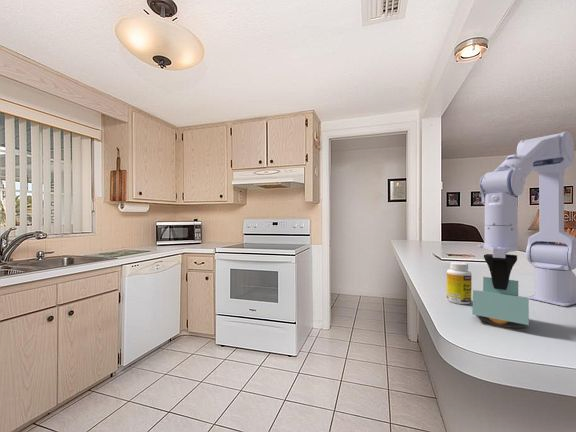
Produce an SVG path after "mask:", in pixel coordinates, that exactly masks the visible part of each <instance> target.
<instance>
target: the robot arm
mask: <svg viewBox="0 0 576 432" xmlns="http://www.w3.org/2000/svg"><path fill="white" fill-rule="evenodd" d="M574 159H575V142H574V139H573V136H572V134H571V133H570V132H568V131H562V132H560V133H556V134H550V135H544V136H540V137H534V138H530V139H521V140H520V141H519V142H518V143H517V147H516V154H515V153H514V154H511V155H507V156H506V158H505V160H504V161H503V162H502V163H500V164H499V165H498V166H497V168H495V169H494V170H493V171H489V172H486V173H485V174H484V175H482V176H481V177H480V180H479V184H478V188H479V189H478V190H479V193H480V196H481V203H482V206H483V205H484V244H479V243H478V244H477V248H479V249H485V250H487V251H491V252H492V254H490V253H486V254H483V258H484V261H485V262H486V264H487V267H488V269H489V272H490V276H491V277H490V278H492V283H493V287H494V289H501V290H506V289H507V286H508V282H509V280H510V277H511V276H510V275H511V273H512V270H513V267H514V266H515V264H516V262H518V254H517V255H516V254H507V253H510V252H518V251H519V250H520V248H519V246H518V238H519V237H518V234H519V233H518V229H519V227H518V226H519V225H518V223H519V222H518V219H519V218H518V215H519V214H518V213H519V210H518V207H519V201H518V199H519V196H521V195H522V194H523V191H524V188H525V184H526V179H527V177H528V176H529V175H530V174H531V173H532V172H537V174H538V175H539V176H538V182H539V183H538V188H539V189H538V191H539V192H538V193H539V195H538V196H539V197H538V198H539V199H538V200H539V204H538V205H539V206H538V207H539V209H538V210H539V213H538V216H539V220H538V221H539V223H538V224H539V226H538V227H539V231H538V232H536V233H534V234H532V235H531V236H529V237H528V239H527V246H526V250H525V257H526V259H527V261H528V262H529V264H531V266H532V267H534V294H533V295H532V294H531V295H528V296H526V297H527V298H529V300H535V301H539V302H543V303H547V304H552V305H556V306H557V305H558V306H561V307H568V306H571V305H575V304H576V274H575V272H573V270H576V237H575V236H574V235H572V234H570V233H568V232H566V231H565V198H564V197H565V190H564V189H565V181H564V180H565V179H564V177H565V171H566V168H569V167H571V166H572V165H574Z"/></svg>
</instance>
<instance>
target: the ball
mask: <svg viewBox="0 0 576 432" xmlns="http://www.w3.org/2000/svg"><path fill="white" fill-rule="evenodd" d="M488 318H489V317H488ZM489 319H490V320H491V321H492V322H494V323H496V324H506V323H508V322H509V321H504V320H499V319H494V318H489Z"/></svg>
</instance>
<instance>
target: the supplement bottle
mask: <svg viewBox="0 0 576 432" xmlns="http://www.w3.org/2000/svg"><path fill="white" fill-rule="evenodd" d="M449 265H450V266H449V267H450V269H447V271H446V300H447V301H449V302H450V303H453V304H458V305H469V304H471V303H472V279H473V278H472V276H473V275H472V272H471V271H470V270H469V264H468V263H466V262H458V261H452V262H450V264H449Z"/></svg>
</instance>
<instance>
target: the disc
mask: <svg viewBox="0 0 576 432" xmlns="http://www.w3.org/2000/svg"><path fill="white" fill-rule="evenodd" d="M475 317H476V318H477V319H478V320H480V321H482V322H485V323H488V324H490V325H495V326H498V327H505V328H510V329H511V328H512V329H513V328H515V329H523V328H527V327H528V326H529V325H525V324H520V323H515V322H510V321H509V322H508V323H506V324H496V323H494V322H492V321H491V320H490V319H489V318H488V317H484V316H478V315H475Z"/></svg>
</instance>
